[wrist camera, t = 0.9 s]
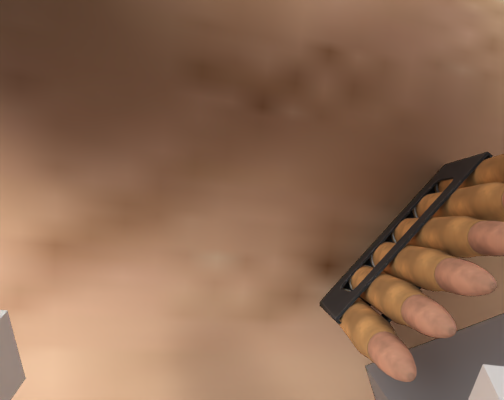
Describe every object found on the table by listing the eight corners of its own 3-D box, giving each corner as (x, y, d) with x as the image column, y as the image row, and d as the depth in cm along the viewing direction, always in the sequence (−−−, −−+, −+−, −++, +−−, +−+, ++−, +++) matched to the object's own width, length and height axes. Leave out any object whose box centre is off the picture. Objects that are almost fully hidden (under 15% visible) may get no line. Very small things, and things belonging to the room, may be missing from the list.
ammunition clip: (343, 326, 24) (414, 425, 12) (318, 303, 24) (363, 379, 12) (471, 185, 24) (666, 145, 12) (445, 163, 24) (614, 102, 12)
